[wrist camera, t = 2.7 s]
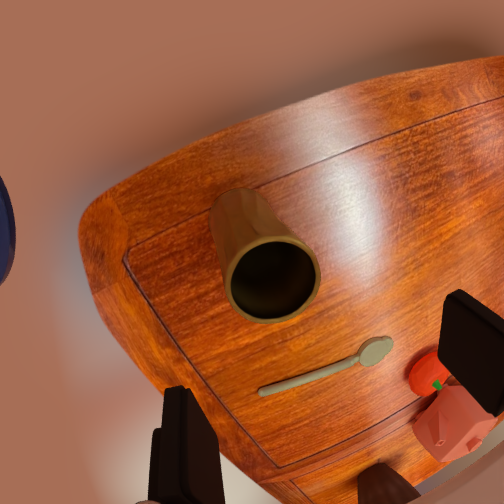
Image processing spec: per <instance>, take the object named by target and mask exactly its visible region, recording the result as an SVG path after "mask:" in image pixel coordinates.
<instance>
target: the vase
mask: <svg viewBox="0 0 504 504" xmlns="http://www.w3.org/2000/svg"><path fill="white" fill-rule="evenodd" d="M208 224H209V229H210V232H211V234H212V236H213V239H214V243H215V246H216V250H217V254H218V259H219V263H220V267H221V271H222V277H223V283H224V289H225V292H226V295H227V298H228V300H229V302H230V304H231V306H232V307H233V308H234V310H235V311H236V312H238V313H239V314H240V315H241V316H243V317H244V318H246V319H247V320H249V321H252V322H255V323H260V324H271V323H280V322H284V321H287V320H289V319H292V318H294V317H296V316H297V315H299V314H301V313H302V312H303V311H304V310H305V309H306V308H307V307H308V306H309V305H310V303H311V302H312V301H313V300H314V298H315V297H316V295H317V292H318V290H319V286H320V281H321V271H320V267H319V263H318V260H317V258H316V256H315V253H314V252H313V250H312V249H311V248H310V247H309V246H308V245H307V244H306V243H305V242H304V241H303V240H302V239H300V238H299V237H298V236H297V235H296V234H295V233H294V232H293V231H292V230H291V229H290V228H289V227H288V226H287V225H286V224H285V223H284V222H283V221H282V220H280V219H279V218H278V217H277V215H276V214H275V213H274V212H273V210H272V209H271V207H270V205H269V203H268V202H267V200H266V199H265V198H264V197H263V196H262V195H261V194H259V193H258V192H256V191H254V190H251V189H244V188H237V189H232V190H230V191H227V192H225V193H223V194H222V195H221V196H219V197H218V198H217V199H216V201H215V202H214V203H213V205H212V207H211V209H210V212H209V217H208Z"/></svg>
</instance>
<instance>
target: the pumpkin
mask: <svg viewBox="0 0 504 504" xmlns="http://www.w3.org/2000/svg"><path fill="white" fill-rule="evenodd" d="M437 352H438V351H436V352H432V353H429V354H427V355H425V356H424V357H422V358H421V359H420V360H419V361H418V362H417V363H416V364H414V366H413V368H412V369H411V371H410V374H409V385H410V389H411V390H412V391H413V392H414V393H415V394H417V395H418V396H428V395H430V394H432V393H433V392H435V391H436V390H438V391H439V390H440V389H442V386H441V385H442V384H443V383H444V382H445V381H446V379H447V378H448V375H449V371H448V370H447V368H446V367H445V366H444V365H443V364H442V363H441V362H440V361H439V359H438V356H437Z"/></svg>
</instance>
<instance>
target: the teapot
mask: <svg viewBox="0 0 504 504" xmlns="http://www.w3.org/2000/svg"><path fill="white" fill-rule="evenodd" d="M437 395H438V397H437V398H436V399H435V400H434V401H433V403H432V404H431V405H430V406H429V407H428V409H427V410H424V411H422V412H420V413H419V414H418V415H417V416H416V418H415V419H416V420H417V421H416V423H415V424H414V425H413V426H412V429H413V431H414V434H415V436H416V437H417V439H418V440H419V441H420V443H421V444H422V445H423V446H424V447H425V449H426V450H427V451H428V452H429V453H430V454H431V455H432V456H433V457H434V458H435V459H436V460H437V461H438V462H446V461H450V460H454V459H457V458H460V457H462V456H465V455H466V454H468V453H471V452H473V451H475V450H476V449H477V448H478V447H479V446H480V445H481V443H482V440H481V439H483V438H484V437H485V436H486V435H487V434H488V433H489V432H490V431H491V430H490V429H491V428H492V427H493V426H494V425H495V423H496V422H497V421H498V418H497V417H496V418H495V417H494V416H493V415H492V414H489V413H487V412H486V411H485V410H484V409H483V408H482V407H481V406H480V404H479V403H478V402H477V401H476V400H475V399H474V398H473V397H472V396H471V394H470V393H469V392H468V391H467V390H466V389H465V388H464V387H463V386H462V385H461V386H448V384H444V385H442V389H440V390H439V391H437Z"/></svg>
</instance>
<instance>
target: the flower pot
mask: <svg viewBox="0 0 504 504" xmlns="http://www.w3.org/2000/svg"><path fill="white" fill-rule="evenodd" d="M357 488H358V504H407V503H409V502H411V501H413V500H415V499H417V498H418V497H420V496H421V495H420V494H419V492H418V491H417V490H416V489H415V488H414V487H413V486H412V485H411V484H410V483H409V482H408V481H407V480H405V479H404V478H403V477H402V476H401V475H400V474H398V473H397V472H396V471H394V470H393V469H392V468H390V467H389V466H388V465H386V464H377V465H375V466H372V467H370V468H368V469H367V470H365V471H364V472H362V473H361V474H360V475H359V476H358V486H357Z"/></svg>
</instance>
